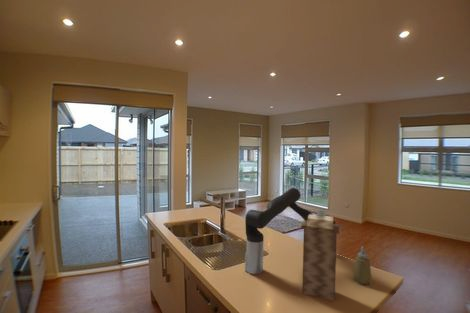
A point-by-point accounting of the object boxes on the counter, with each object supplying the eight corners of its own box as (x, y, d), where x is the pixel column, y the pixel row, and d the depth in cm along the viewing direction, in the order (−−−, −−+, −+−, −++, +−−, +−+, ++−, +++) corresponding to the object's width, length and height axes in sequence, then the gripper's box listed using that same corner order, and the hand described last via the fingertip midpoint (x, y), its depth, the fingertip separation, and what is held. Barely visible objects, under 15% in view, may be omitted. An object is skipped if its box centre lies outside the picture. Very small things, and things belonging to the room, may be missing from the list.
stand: (299, 293, 111) (301, 225, 111) (302, 283, 120) (303, 220, 119) (337, 302, 105) (339, 230, 105) (337, 291, 114) (338, 224, 113)
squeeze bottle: (355, 276, 129) (356, 242, 128) (372, 281, 123) (373, 246, 123) (351, 282, 122) (352, 247, 122) (369, 288, 117) (370, 251, 117)
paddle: (307, 225, 110) (307, 218, 110) (310, 216, 127) (310, 209, 127) (333, 229, 106) (333, 221, 106) (333, 218, 123) (333, 211, 123)
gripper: (310, 219, 150) (308, 211, 137) (335, 222, 145) (335, 214, 132) (309, 231, 147) (307, 224, 134) (334, 234, 142) (335, 228, 128)
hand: (321, 219), depth 133 cm, fingers open, 8 cm apart
